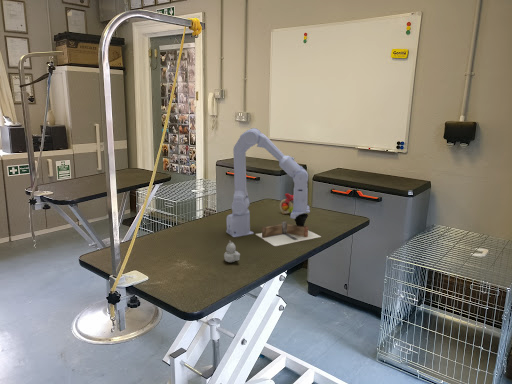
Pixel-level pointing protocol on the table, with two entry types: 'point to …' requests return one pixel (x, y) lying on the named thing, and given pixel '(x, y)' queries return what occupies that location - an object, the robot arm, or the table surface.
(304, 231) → the brown wooden bar
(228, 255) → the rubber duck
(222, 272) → the table surface
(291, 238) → the card
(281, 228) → the fixed fence section
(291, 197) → the bird rattle
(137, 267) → the table surface
